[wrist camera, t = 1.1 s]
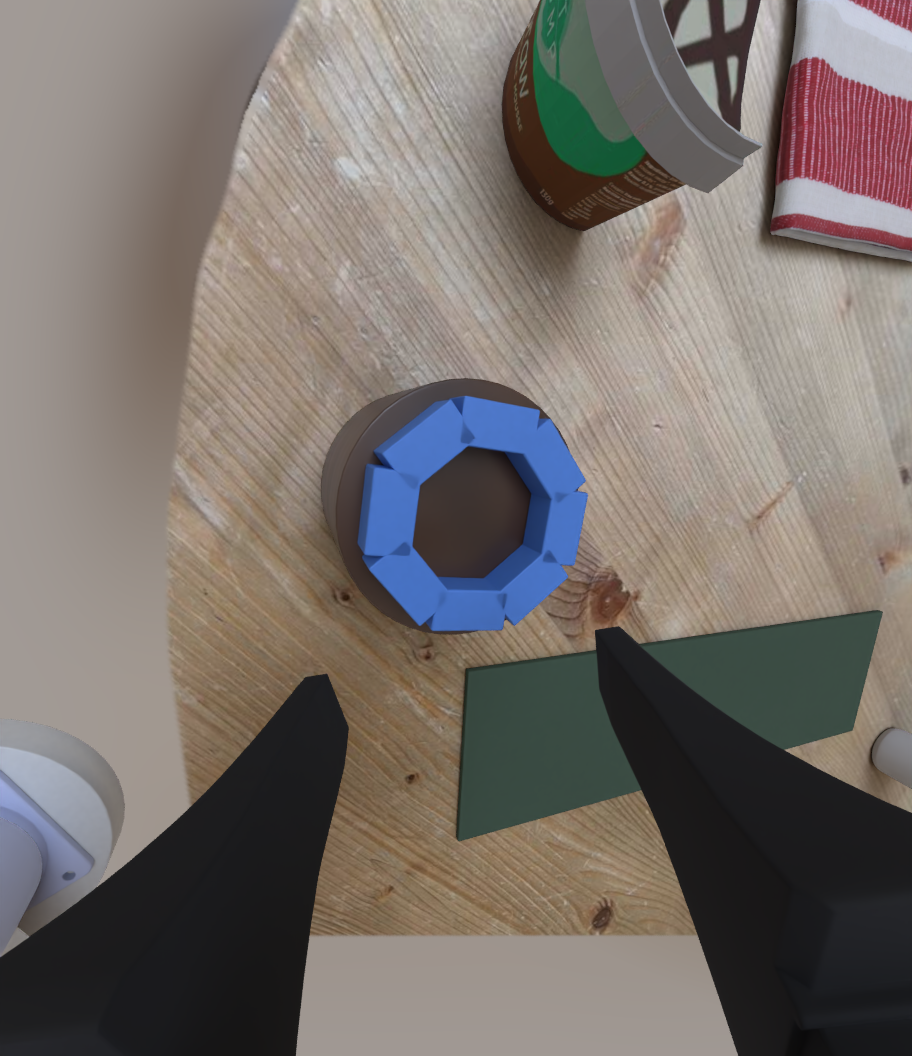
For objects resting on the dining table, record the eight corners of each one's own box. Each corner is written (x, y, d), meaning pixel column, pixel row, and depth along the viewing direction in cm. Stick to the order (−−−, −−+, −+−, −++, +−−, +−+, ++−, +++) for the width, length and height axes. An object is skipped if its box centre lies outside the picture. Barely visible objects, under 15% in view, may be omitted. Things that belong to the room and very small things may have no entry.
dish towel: (1001, -148, 28) (1069, -202, 26) (919, 267, 34) (969, 254, 31) (819, -286, 23) (883, -372, 20) (755, 238, 28) (799, 220, 26)
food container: (482, -72, 20) (652, -503, 11) (600, -23, 22) (829, -348, 13) (476, 245, 22) (608, 121, 13) (582, 262, 24) (759, 165, 15)
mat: (456, 836, 30) (458, 841, 29) (465, 668, 27) (468, 671, 27) (848, 727, 44) (852, 730, 43) (877, 610, 41) (883, 611, 41)
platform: (375, 613, 25) (408, 680, 18) (281, 442, 21) (280, 450, 15) (528, 527, 27) (605, 560, 20) (465, 360, 23) (533, 335, 17)
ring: (447, 654, 19) (461, 674, 17) (310, 499, 15) (313, 507, 14) (592, 525, 20) (617, 533, 18) (492, 356, 17) (512, 349, 15)
